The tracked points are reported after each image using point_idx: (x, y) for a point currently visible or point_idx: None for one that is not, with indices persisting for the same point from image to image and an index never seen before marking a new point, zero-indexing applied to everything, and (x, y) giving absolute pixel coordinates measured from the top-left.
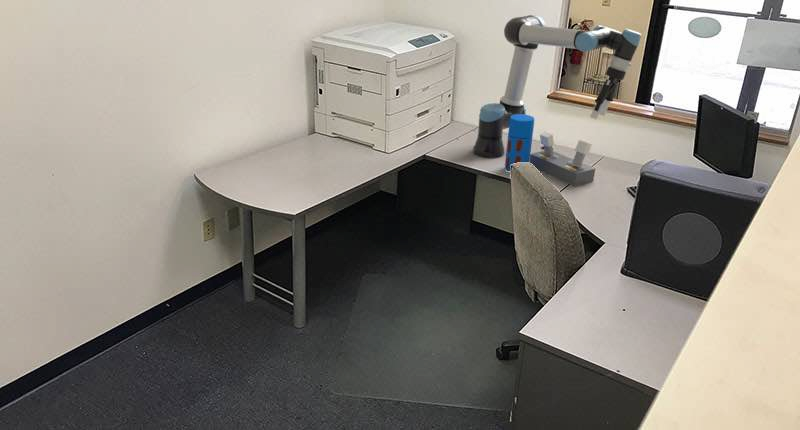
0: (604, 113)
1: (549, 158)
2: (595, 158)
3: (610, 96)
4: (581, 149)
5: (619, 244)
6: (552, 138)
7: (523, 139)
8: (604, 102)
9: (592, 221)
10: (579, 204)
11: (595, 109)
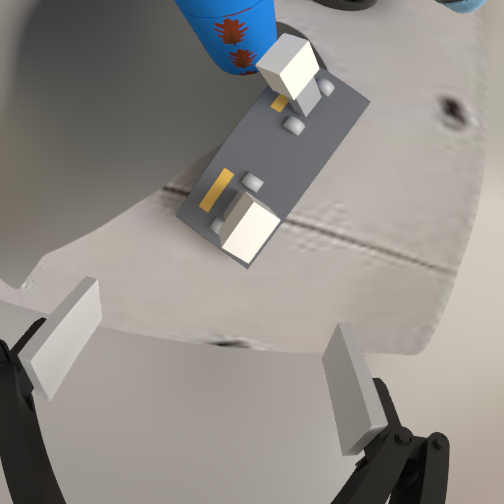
0: (325, 369)
1: (277, 110)
2: (435, 252)
3: (337, 498)
4: (230, 219)
5: (25, 307)
6: (283, 84)
7: (179, 8)
8: (357, 413)
9: (54, 268)
10: (98, 238)
11: (37, 328)
